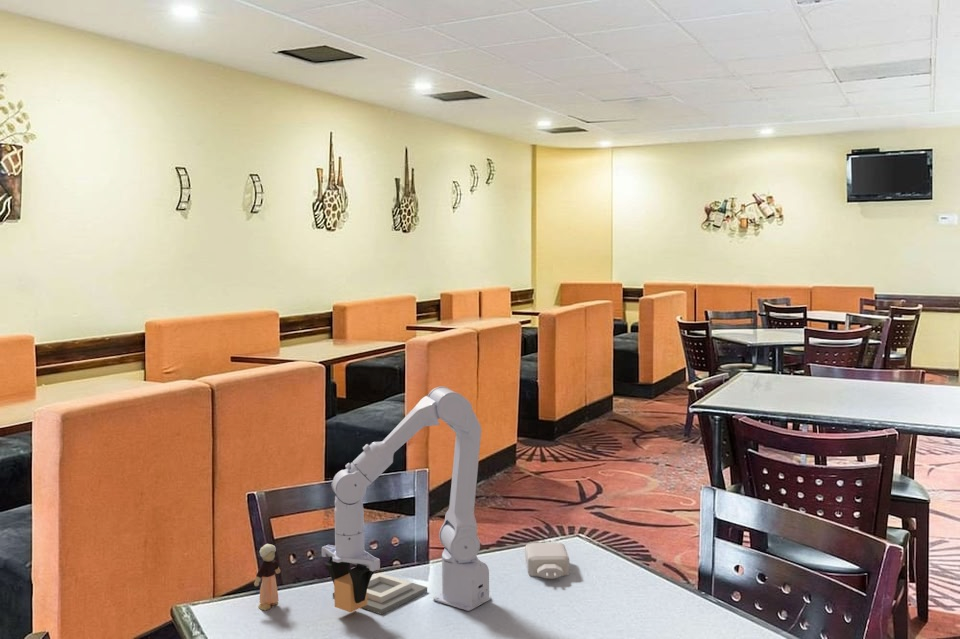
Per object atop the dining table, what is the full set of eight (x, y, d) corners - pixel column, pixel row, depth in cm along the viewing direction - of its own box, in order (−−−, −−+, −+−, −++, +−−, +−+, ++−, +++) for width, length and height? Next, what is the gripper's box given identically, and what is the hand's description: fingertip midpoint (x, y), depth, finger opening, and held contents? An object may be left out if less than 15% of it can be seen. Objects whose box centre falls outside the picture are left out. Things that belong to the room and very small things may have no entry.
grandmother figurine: (269, 613, 160) (268, 550, 159) (251, 611, 161) (250, 549, 160) (286, 597, 168) (285, 538, 167) (269, 596, 168) (268, 537, 168)
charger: (530, 587, 173) (525, 562, 188) (573, 587, 173) (564, 562, 188) (530, 566, 172) (525, 543, 187) (573, 565, 172) (564, 542, 187)
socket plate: (427, 591, 170) (427, 581, 170) (381, 614, 159) (381, 603, 159) (379, 577, 179) (379, 567, 178) (332, 597, 167) (332, 587, 167)
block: (367, 604, 160) (366, 577, 159) (350, 612, 156) (350, 584, 156) (351, 599, 162) (350, 572, 162) (334, 606, 159) (334, 579, 158)
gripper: (309, 529, 159) (310, 596, 160) (361, 543, 151) (362, 614, 151) (335, 520, 165) (337, 585, 166) (386, 533, 156) (388, 601, 157)
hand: (350, 598), depth 159 cm, fingers closed on block, 4 cm apart
